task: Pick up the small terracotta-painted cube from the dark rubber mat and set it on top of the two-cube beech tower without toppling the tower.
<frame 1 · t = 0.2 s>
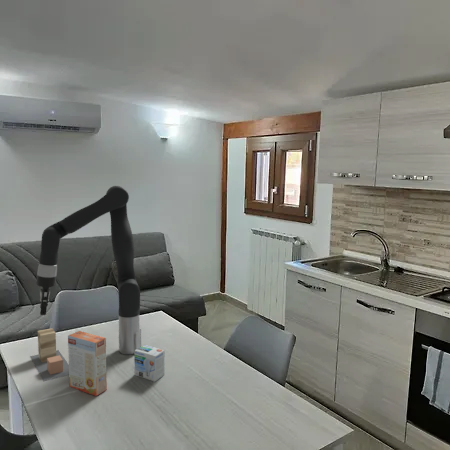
hand: (42, 311, 182), 22 cm above the table, tool pointing down, fingers open, 8 cm apart
terracotta cube: (55, 370, 176), resting on rubber mat
tower mid: (47, 345, 186), point 6 cm above the table, touching tower base
rubber mat: (51, 365, 181), on the table
light bulb box: (149, 375, 175), on the table
tower base: (47, 358, 187), resting on rubber mat, touching tower mid
cracker box: (88, 389, 163), on the table
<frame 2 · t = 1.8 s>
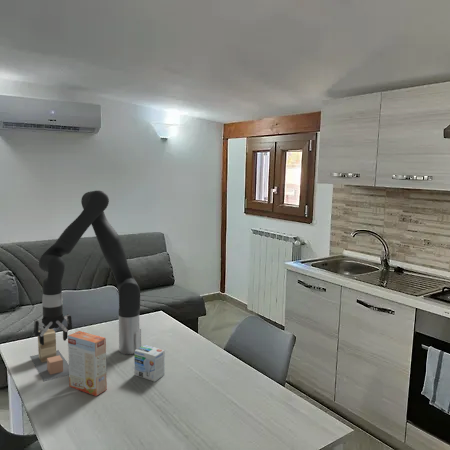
hand: (53, 342, 174), 13 cm above the table, tool pointing down, fingers open, 8 cm apart
nothing on the table moved.
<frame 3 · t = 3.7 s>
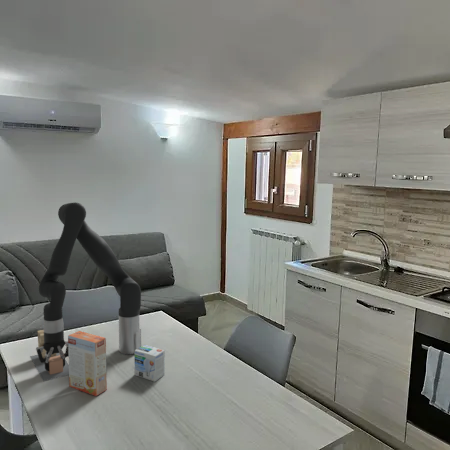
hand: (55, 368, 176), 1 cm above the table, tool pointing down, fingers closed on terracotta cube, 5 cm apart
terracotta cube: (55, 370, 176), resting on rubber mat, touching gripper
everything else where it was.
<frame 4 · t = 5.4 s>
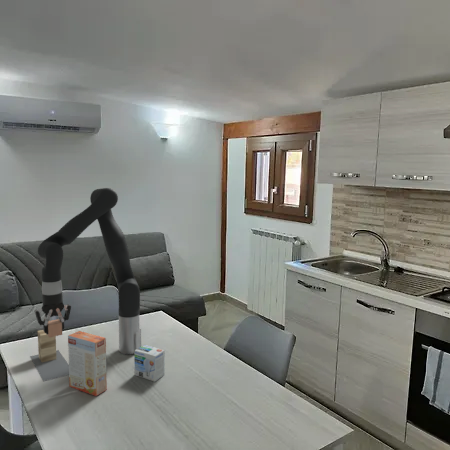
hand: (54, 331, 174), 17 cm above the table, tool pointing down, fingers closed on terracotta cube, 5 cm apart
terracotta cube: (54, 334, 174), point 16 cm above the table, touching gripper
everything else where it was.
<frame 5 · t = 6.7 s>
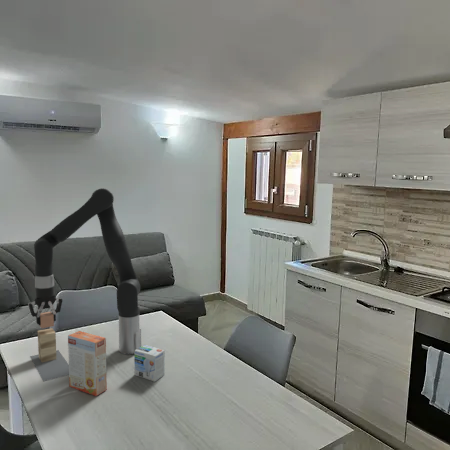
hand: (46, 323, 185), 16 cm above the table, tool pointing down, fingers closed on terracotta cube, 5 cm apart
terracotta cube: (46, 325, 185), point 15 cm above the table, touching gripper
everything else where it was.
when the fingers open (14 cm above the table, at t = 7.5 s): terracotta cube drops 1 cm, resting on tower mid.
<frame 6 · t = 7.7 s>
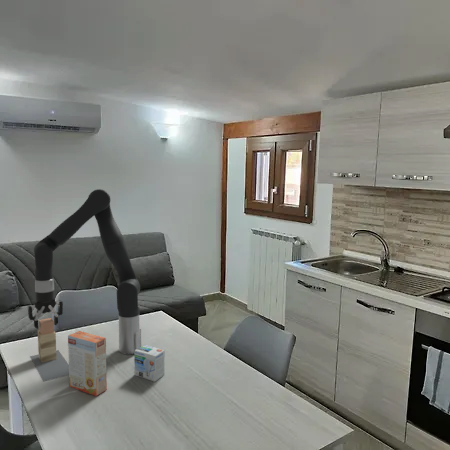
hand: (46, 326, 185), 15 cm above the table, tool pointing down, fingers open, 7 cm apart
terracotta cube: (46, 331, 185), point 12 cm above the table, touching tower mid
tower mid: (47, 345, 186), point 6 cm above the table, touching terracotta cube, tower base
everything else where it was.
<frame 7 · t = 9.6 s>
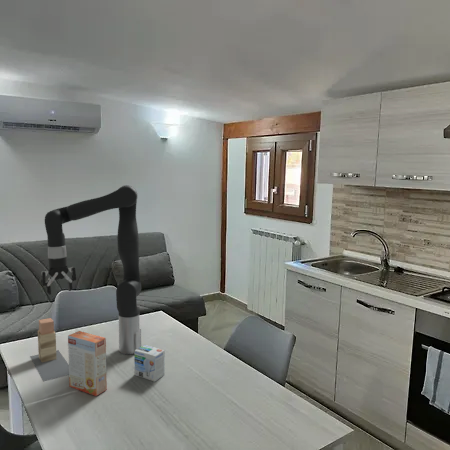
hand: (59, 292, 188), 29 cm above the table, tool pointing down, fingers open, 8 cm apart
nothing on the table moved.
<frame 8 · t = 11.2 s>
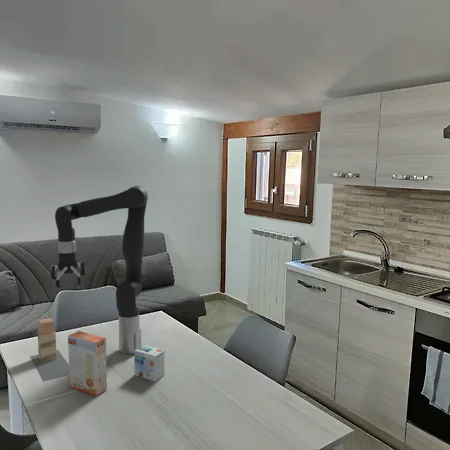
hand: (68, 286, 192), 30 cm above the table, tool pointing down, fingers open, 8 cm apart
nothing on the table moved.
at the end: terracotta cube 0.0 cm off-centre on the tower base, point 12.0 cm above the tower base's base; tower mid tilted 0°; tower base moved 0.1 cm from its start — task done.
